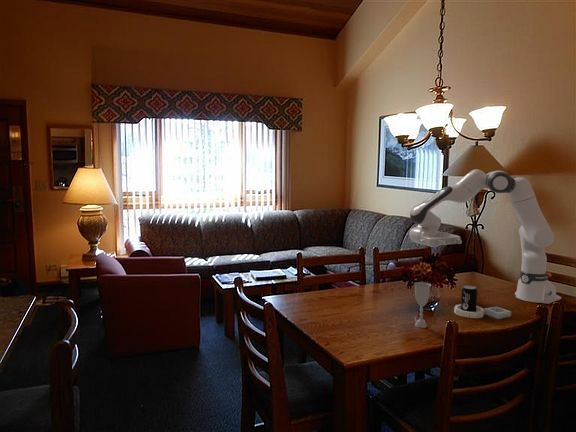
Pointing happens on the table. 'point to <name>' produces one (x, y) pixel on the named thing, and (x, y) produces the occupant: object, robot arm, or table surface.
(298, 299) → the table surface
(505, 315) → the square holder
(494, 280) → the table surface
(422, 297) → the chalice
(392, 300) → the table surface
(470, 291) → the beverage can
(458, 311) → the round collar
